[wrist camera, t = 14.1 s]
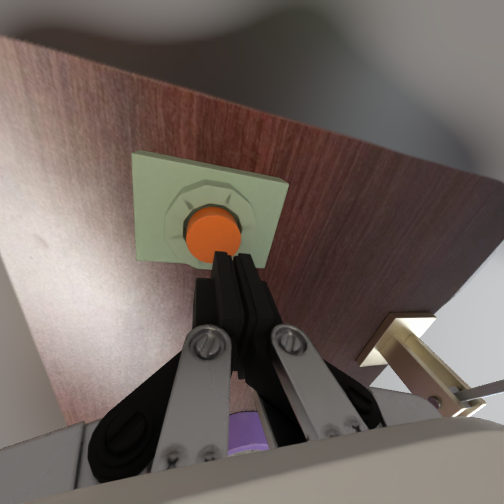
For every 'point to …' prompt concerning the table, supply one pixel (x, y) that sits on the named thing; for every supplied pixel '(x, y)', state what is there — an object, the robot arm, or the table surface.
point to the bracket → (417, 362)
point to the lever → (477, 392)
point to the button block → (200, 206)
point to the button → (212, 233)
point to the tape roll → (245, 434)
